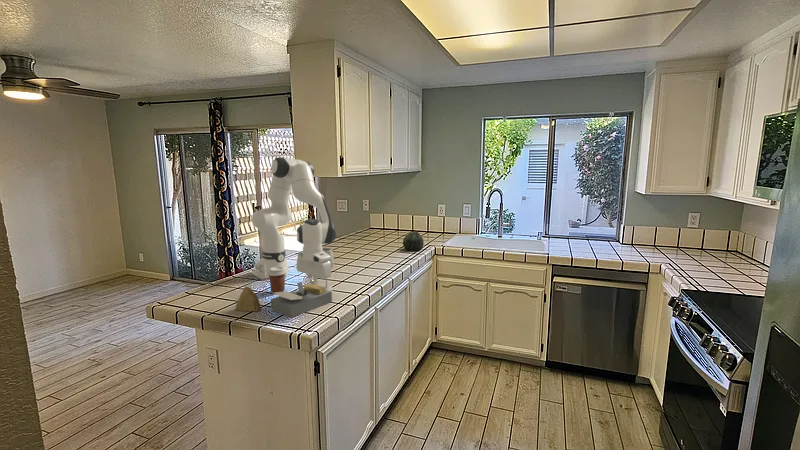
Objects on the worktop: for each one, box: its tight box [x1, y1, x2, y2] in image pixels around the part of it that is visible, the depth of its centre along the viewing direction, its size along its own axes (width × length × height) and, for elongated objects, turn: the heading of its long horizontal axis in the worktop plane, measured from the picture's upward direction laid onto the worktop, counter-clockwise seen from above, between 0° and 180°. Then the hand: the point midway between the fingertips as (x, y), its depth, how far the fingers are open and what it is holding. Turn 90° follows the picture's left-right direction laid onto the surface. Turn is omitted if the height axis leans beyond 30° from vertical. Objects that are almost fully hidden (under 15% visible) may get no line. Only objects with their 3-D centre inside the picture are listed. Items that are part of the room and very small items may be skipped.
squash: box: [402, 231, 425, 251], centre depth 288 cm, size 14×15×15 cm
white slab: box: [274, 291, 302, 300], centre depth 170 cm, size 11×6×1 cm, turn 54°
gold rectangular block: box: [303, 282, 326, 294], centre depth 182 cm, size 11×4×2 cm, turn 54°
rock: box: [234, 286, 262, 312], centre depth 171 cm, size 11×9×10 cm
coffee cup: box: [268, 267, 286, 295], centre depth 195 cm, size 9×9×12 cm
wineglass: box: [323, 247, 335, 292], centre depth 198 cm, size 8×8×21 cm
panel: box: [270, 287, 333, 318], centre depth 176 cm, size 14×23×7 cm, turn 144°
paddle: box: [296, 281, 305, 295], centre depth 176 cm, size 2×2×6 cm
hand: (313, 283), depth 182 cm, fingers closed
